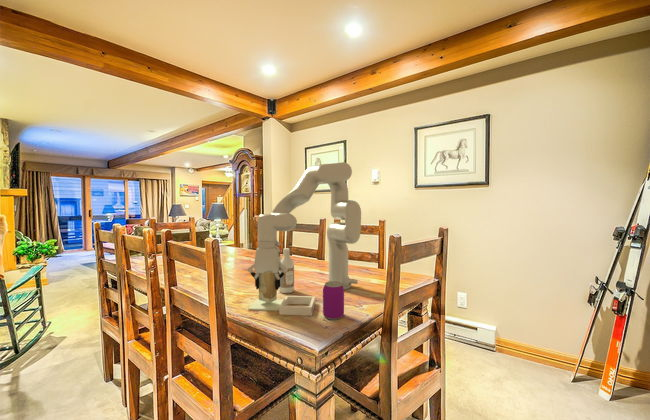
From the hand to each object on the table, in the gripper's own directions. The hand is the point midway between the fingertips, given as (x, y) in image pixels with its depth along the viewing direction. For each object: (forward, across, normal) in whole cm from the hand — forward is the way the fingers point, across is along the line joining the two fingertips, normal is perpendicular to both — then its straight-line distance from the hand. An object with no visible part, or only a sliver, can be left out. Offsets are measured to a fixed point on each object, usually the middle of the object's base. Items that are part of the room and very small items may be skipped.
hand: (267, 288), depth 112 cm
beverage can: (+7, -27, +9) cm, 29 cm away
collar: (+7, -13, +3) cm, 15 cm away
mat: (+7, 0, 0) cm, 7 cm away
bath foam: (+7, -4, -18) cm, 20 cm away
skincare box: (+5, 0, 0) cm, 5 cm away
